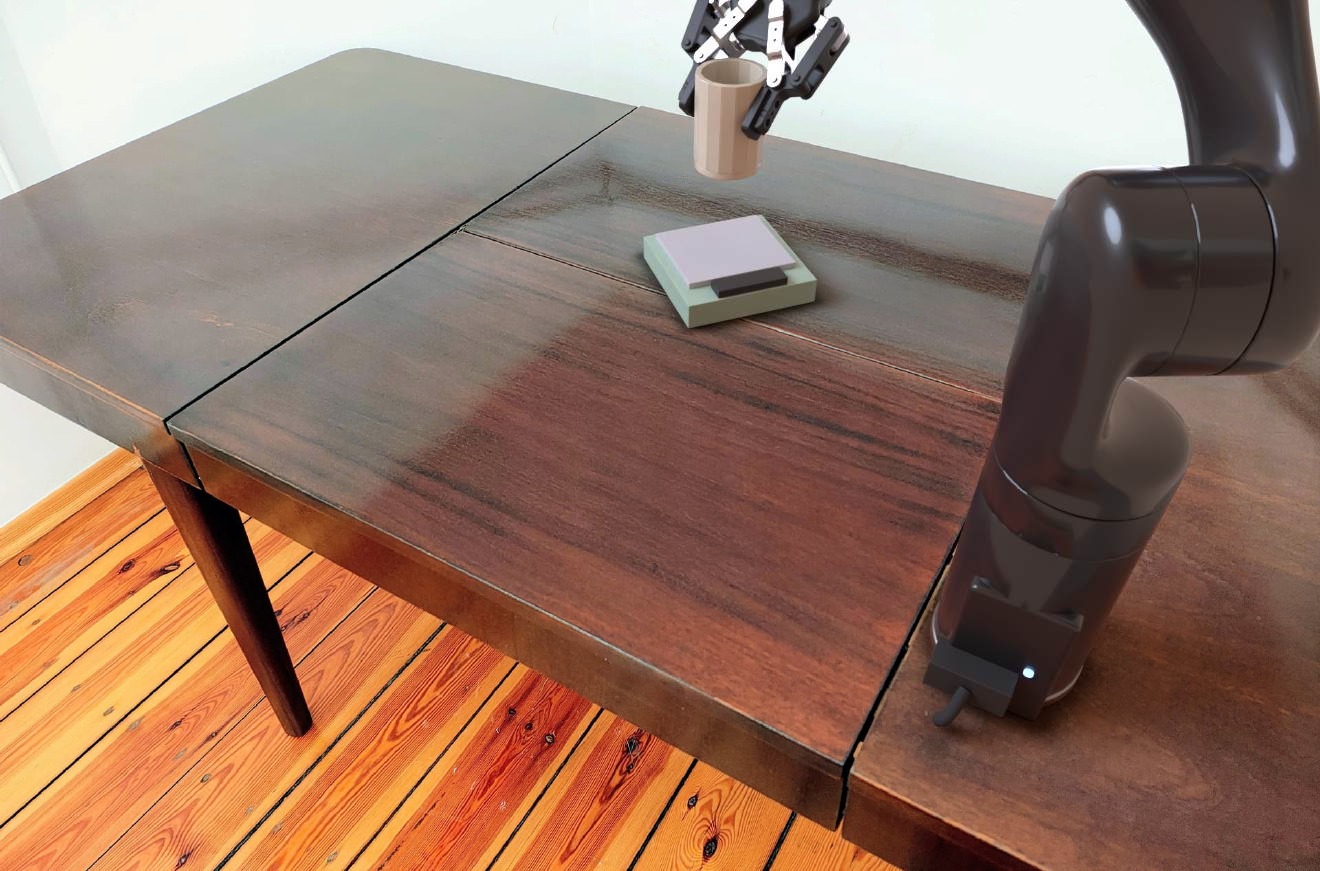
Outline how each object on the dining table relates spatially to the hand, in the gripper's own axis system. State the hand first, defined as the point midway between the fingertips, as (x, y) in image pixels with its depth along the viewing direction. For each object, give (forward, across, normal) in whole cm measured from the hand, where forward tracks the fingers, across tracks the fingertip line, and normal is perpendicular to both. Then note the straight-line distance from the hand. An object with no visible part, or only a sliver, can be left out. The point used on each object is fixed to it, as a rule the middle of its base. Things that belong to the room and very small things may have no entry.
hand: (717, 123), depth 76 cm
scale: (+10, -2, +17) cm, 19 cm away
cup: (+2, 0, +4) cm, 5 cm away
